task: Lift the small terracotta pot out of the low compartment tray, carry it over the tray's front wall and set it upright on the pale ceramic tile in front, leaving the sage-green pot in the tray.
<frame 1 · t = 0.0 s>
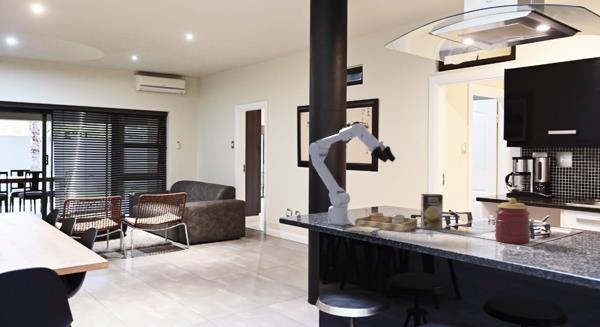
hand: (390, 160, 216), 32 cm above the countertop, tool tilted 50°, fingers open, 7 cm apart
sage pot: (397, 228, 220), resting in compartment tray
coffee box: (431, 228, 219), on the countertop
canister: (512, 241, 188), on the countertop
ceramic tile: (363, 229, 216), on the countertop
compartment tray: (385, 226, 224), on the countertop
terracotta pot: (377, 226, 227), resting in compartment tray
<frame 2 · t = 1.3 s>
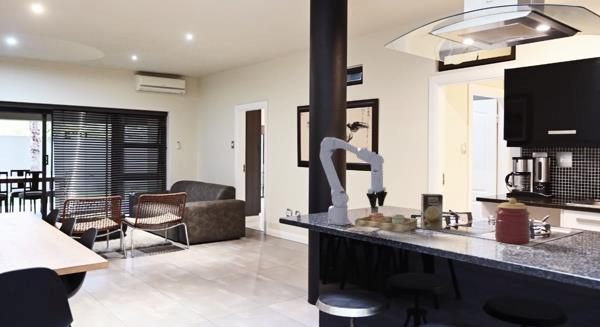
hand: (377, 207, 226), 9 cm above the countertop, tool pointing down, fingers open, 7 cm apart
nothing on the countertop moved.
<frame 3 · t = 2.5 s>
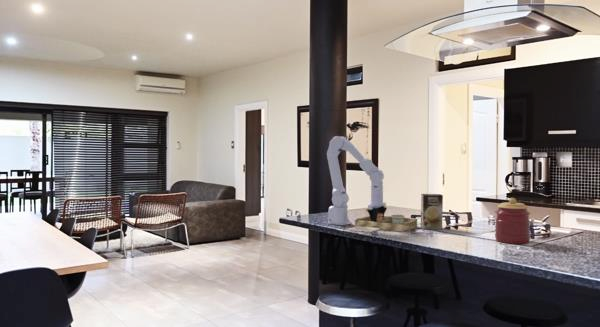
hand: (377, 222, 226), 2 cm above the countertop, tool pointing down, fingers closed on terracotta pot, 6 cm apart
terracotta pot: (377, 225, 227), resting in compartment tray, touching gripper
everything else where it was.
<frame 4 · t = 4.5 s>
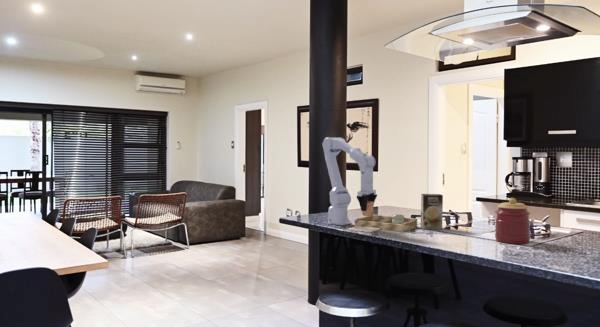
hand: (367, 210, 218), 9 cm above the countertop, tool pointing down, fingers closed on terracotta pot, 6 cm apart
terracotta pot: (367, 214, 219), point 7 cm above the countertop, tilted 6°, touching gripper
everything else where it was.
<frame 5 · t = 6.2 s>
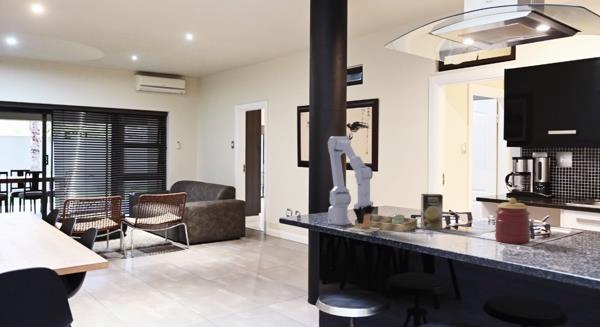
hand: (363, 222, 216), 3 cm above the countertop, tool pointing down, fingers closed on terracotta pot, 6 cm apart
terracotta pot: (364, 226, 217), point 1 cm above the countertop, tilted 6°, touching gripper
everything else where it was.
when the fingers open (3 cm above the countertop, at t = 6.8 s): terracotta pot stays where it is, resting on ceramic tile.
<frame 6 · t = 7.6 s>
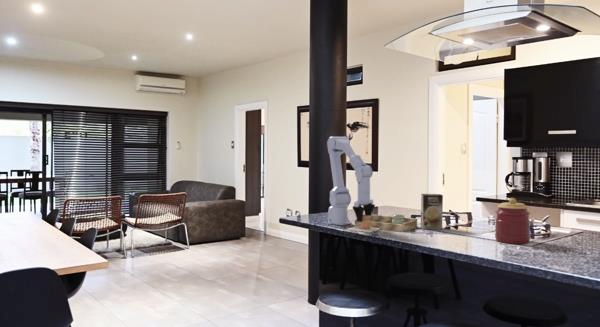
hand: (363, 220, 216), 4 cm above the countertop, tool pointing down, fingers open, 7 cm apart
terracotta pot: (364, 228, 217), point 1 cm above the countertop, touching ceramic tile, gripper
everything else where it was.
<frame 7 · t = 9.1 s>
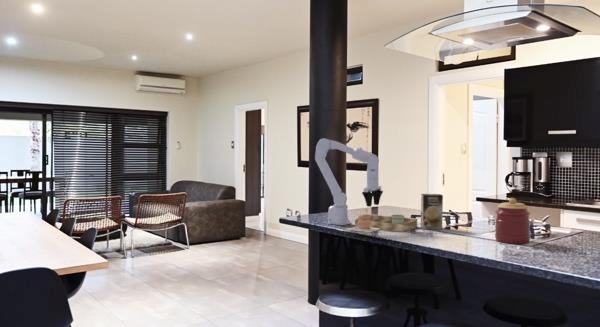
hand: (372, 205, 231), 9 cm above the countertop, tool pointing down, fingers open, 7 cm apart
terracotta pot: (364, 228, 217), point 1 cm above the countertop, touching ceramic tile
everything else where it was.
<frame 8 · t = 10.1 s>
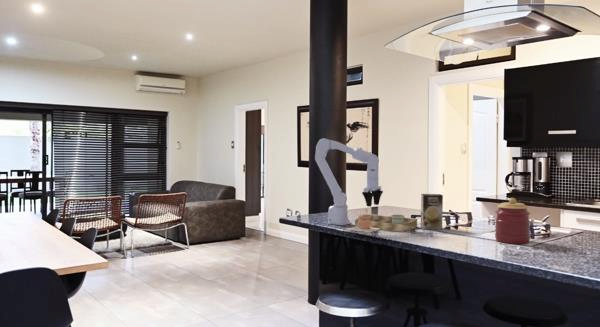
hand: (372, 205, 231), 9 cm above the countertop, tool pointing down, fingers open, 7 cm apart
nothing on the countertop moved.
at the end: terracotta pot inside the target area on the ceramic tile (0.5 cm from its centre), point 0.6 cm above the ceramic tile's base; terracotta pot tilted 0°; terracotta pot touching ceramic tile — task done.
